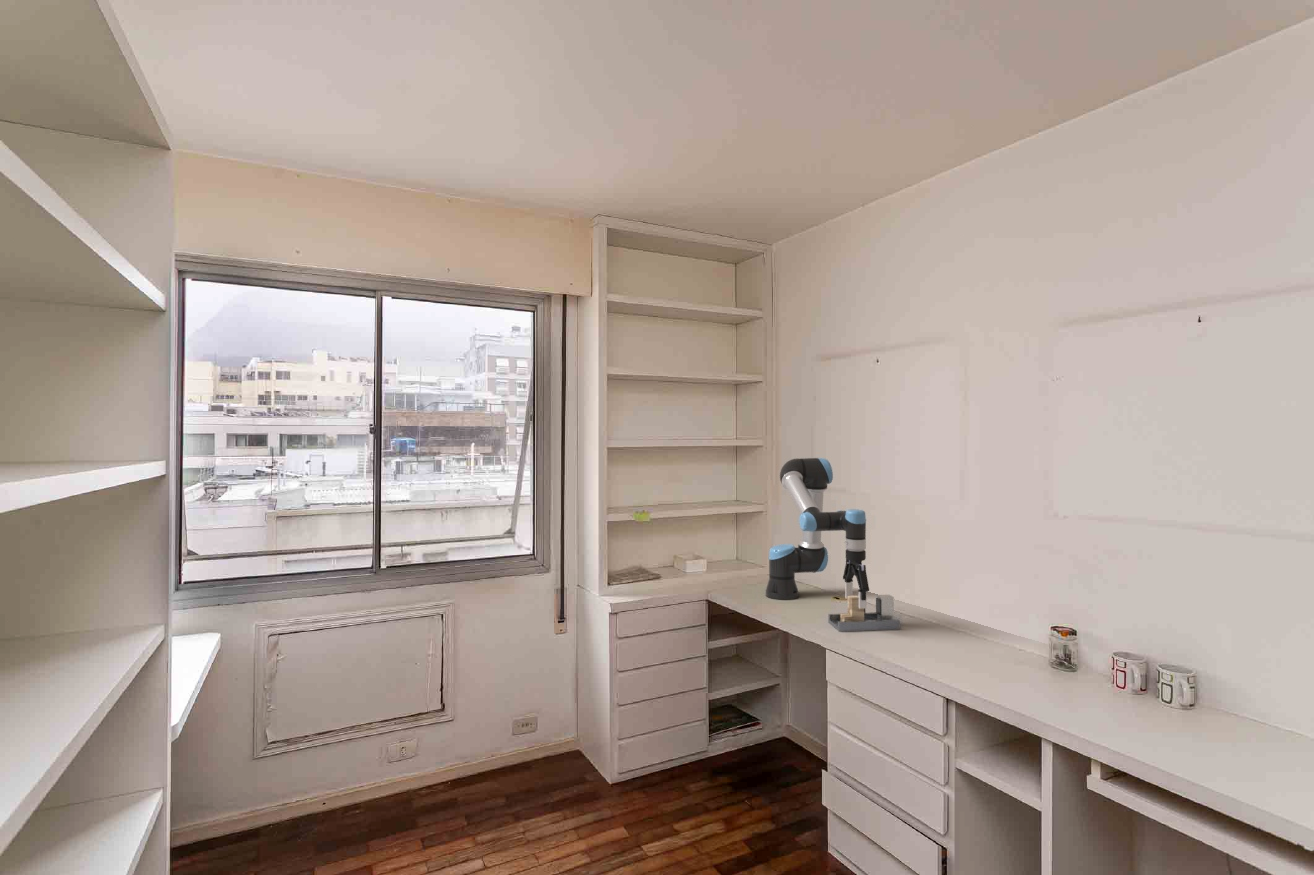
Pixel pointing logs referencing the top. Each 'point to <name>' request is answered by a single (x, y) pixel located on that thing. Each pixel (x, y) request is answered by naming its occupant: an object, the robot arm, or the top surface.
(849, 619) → the wooden stepped block
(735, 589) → the top surface
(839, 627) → the grey tray with panel
